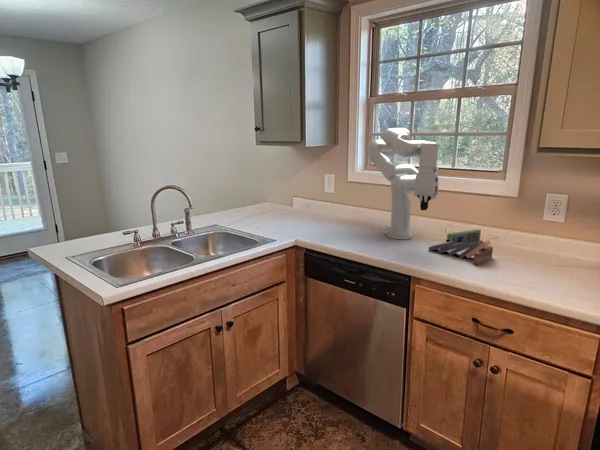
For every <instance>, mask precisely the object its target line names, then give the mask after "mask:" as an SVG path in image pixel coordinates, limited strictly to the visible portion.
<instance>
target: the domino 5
mask: <svg viewBox="0 0 600 450" xmlns="http://www.w3.org/2000/svg"><path fill="white" fill-rule="evenodd" d="M483 242H484V243H482V244H481V245H479V246H478V247H477V248H475V249H474V250H472V251H471V252H469V253H468V254H467V255H466V256H465V257H466V258H467V259H469V258H471V257H474V253H476V252H477V251H479V250H481V249H483V248H485V247H487V246H490V244H492V242H491V241H490V240H489V239H488V240H486V241H483Z"/></svg>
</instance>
